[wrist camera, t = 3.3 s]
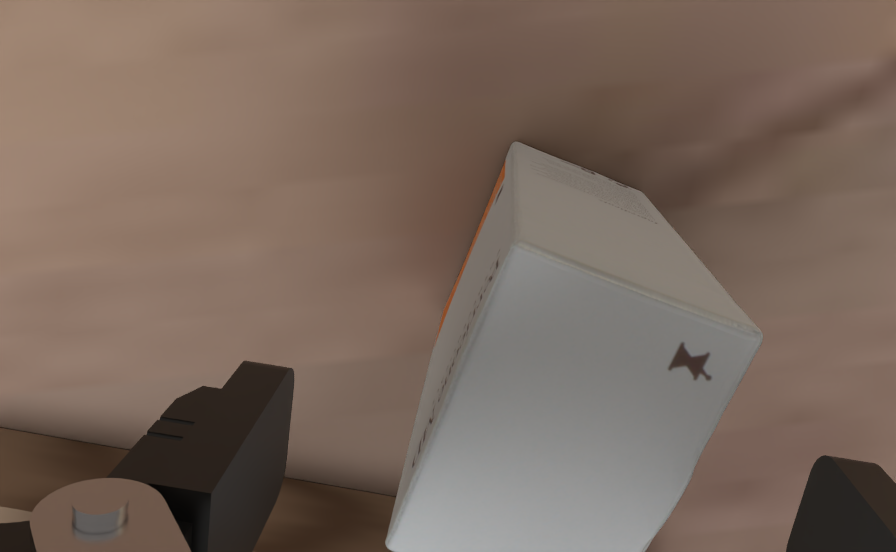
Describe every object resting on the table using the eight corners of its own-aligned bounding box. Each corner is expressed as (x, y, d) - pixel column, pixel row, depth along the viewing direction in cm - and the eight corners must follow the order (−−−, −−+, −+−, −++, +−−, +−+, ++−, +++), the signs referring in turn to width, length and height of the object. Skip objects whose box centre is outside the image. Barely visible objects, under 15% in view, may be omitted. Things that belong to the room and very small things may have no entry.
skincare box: (509, 136, 23) (515, 227, 12) (644, 190, 23) (782, 333, 12) (434, 318, 25) (375, 555, 13) (560, 367, 25) (609, 643, 13)
